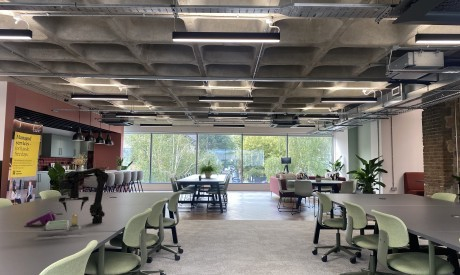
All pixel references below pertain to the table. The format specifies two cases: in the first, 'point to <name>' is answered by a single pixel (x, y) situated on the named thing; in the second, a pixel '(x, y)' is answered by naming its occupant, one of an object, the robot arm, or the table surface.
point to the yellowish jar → (74, 221)
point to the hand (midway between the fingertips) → (73, 211)
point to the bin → (57, 225)
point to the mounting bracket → (43, 219)
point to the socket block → (74, 227)
